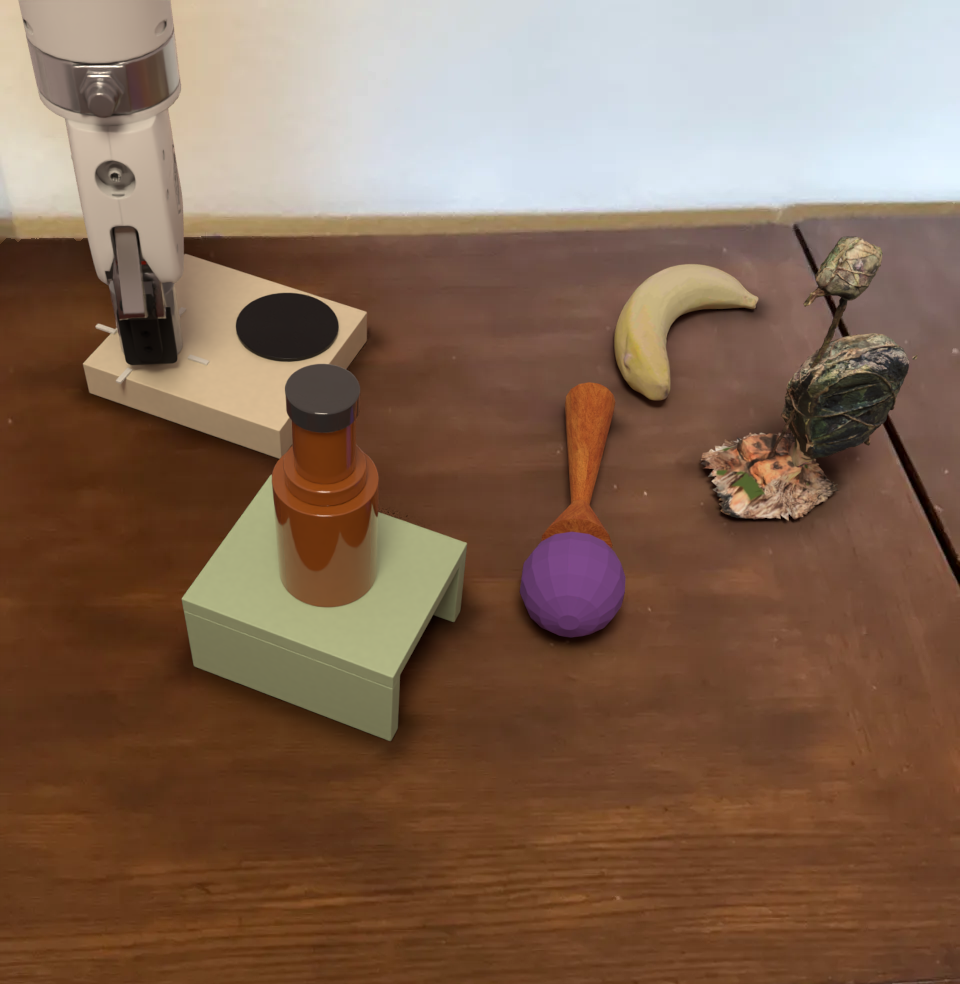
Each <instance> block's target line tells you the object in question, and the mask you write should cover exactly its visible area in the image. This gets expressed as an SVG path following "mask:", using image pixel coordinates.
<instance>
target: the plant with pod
mask: <svg viewBox="0 0 960 984" xmlns="http://www.w3.org/2000/svg"><path fill="white" fill-rule="evenodd" d="M882 261H883V250H882V249H881V246H877V245H875V244H874V243H870V242H868V241H867V240H865V239H864V238H862V237H860V236H856V235H853V236H852V235H851V236H850V235H845V236H842V237H840V238H839V239H838V241H837V242H836V243H835V245H834V247H833V248H832V249H831V251H830V252H829V253H828V254H827V256H826V258H825V259H824V260H823V261H822V263H821V264H820V266H819V268H818V271H817V272H816V273H815V274H814V276H815V277H814V280H815V283H816V285H817V287H816V289H814V291H811V292H810V293H809V296H807V298H806V299H805V301H804V302H803V306H804V307H808V306H810V305H811V304H813V303H814V302H815V300H816V299H817V298H820V297H829V296H831V297H839V300H838V305H837V307H836V308H835V312H834V314H833V318H832V320H831V323H830V326H829V327H828V330H827V333H826V334H825V337H824V338H823V343H822V345H821V347H819V348H818V349H816V350H815V351H814V352H813V353H812V354H810V355H809V356H807V359H805V360H804V362H802V364H801V365H800V366H799V367H798V369H797V370H796V371H795V372H794V373H793V376H792V377H791V378H790V379H789V381H788V382H787V384H786V393H785V395H784V405H783V406H782V412H781V415H780V417H781V418H782V420H783V422H784V423H785V424H784V426H783V428H782V429H781V432H778V434H777V433H770V432H769V433H764V432H759V433H758V434H757V433H755V432H754V433H752V432H749V434H748V435H746V436H743V437H742V438H740V437H736V440H731V439H724V441H723V444H722V445H721V446H720V445H714V449H715V450H714V449H713V448H710V449H709V450H708V451H707V452H702V454H701V459H699V462H700V463H699V464H701V465H702V466H704V467H702V468H701V469H703V470H704V469H709V470H710V469H712V471H711V472H710V473H709V475H708V476H707V477H708V478H710V477H714V478H713V479H712V480H711V483H712V484H714V485H715V486H716V487H714V488H712V491H714V492H715V493H716V497H719V499H718V501H721V502H719V503H717V504H718V505H719V506H720V507H721V509H720V510H719V511H720V512H722V513H723V514H725V515H728V516H730V517H731V518H736V519H739V518H740V519H753V520H758V519H765V518H767V519H775V518H776V519H780V520H781V517H782V518H784V519H785V520H786V521H788V522H789V521H790V520H789V517H792V519H793V520H794V521H795V520H797V519H800V518H804V515H808V514H809V513H808V512H812V510H813V509H814V508H815V507H816V506H817V505H819V504H821V503H822V502H823V503H824V502H826V500H828V497H832V495H834V494H836V492H838V491H840V489H838V487H836V486H838V485H839V483H836V484H835V481H832V480H831V479H828V476H827V475H826V474H825V473H824V470H823V469H822V468H821V467H820V466H819V465H820V463H818V462H817V459H822V458H827V457H831V456H833V455H835V454H837V453H840V452H843V451H845V450H847V449H850V448H856V447H859V446H860V445H861V444H864V445H866V446H870V445H871V435H872V434H874V432H875V431H876V430H877V429H879V428H881V426H882V425H884V424H885V422H886V421H887V418H888V415H889V413H890V411H894V410H895V405H896V402H897V398H898V395H899V393H900V391H901V388H902V386H903V385H904V383H905V382H904V381H905V378H906V376H907V375H908V373H909V368H910V359H909V357H908V354H907V353H906V350H904V349H905V348H903V347H901V345H899V344H898V343H896V342H895V340H894V339H893V338H891V337H890V336H887V335H886V334H883V333H876V332H873V333H872V332H870V333H866V334H854V335H853V334H851V335H847V336H842V337H839V338H836V339H834V340H833V338H834V336H835V333H836V329H837V328H838V326H839V325H840V321H841V318H842V317H844V313H845V311H846V309H847V306H848V301H853V300H857V298H859V297H860V296H861V295H862V294H863V293H864V292H866V290H867V289H868V288H869V286H870V285H871V283H872V281H873V279H875V277H876V275H877V273H878V272H879V270H880V268H881V266H882ZM917 359H918V354H916V355H914V356H912V360H913V361H916V360H917ZM788 429H789V430H790V432H789V433H787V431H788ZM789 515H790V516H789Z"/></svg>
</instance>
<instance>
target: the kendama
mask: <svg viewBox="0 0 960 984" xmlns="http://www.w3.org/2000/svg"><path fill="white" fill-rule="evenodd" d="M615 408H616V399H615V396H614V393H612V392H611V390H610V389H609V388H608V387H606V386H604V385H603V384H601V383H596V382H589V381H588V382H583V383H578V384H577V385H575V386H574V387H572V388H570V390H568V393H567V394H566V396H565V401H564V411H565V412H564V413H565V425H566V426H565V429H566V443H567V444H566V445H567V446H566V447H567V460H568V476H569V477H568V478H569V490H570V491H569V492H570V504H569V505H568V506H567V507H566V509H565V510H564V511H562V512H561V514H559V515H558V516H557V518H556V519H555V520H554V521H553V522H551V524H550V525H549V526H548V527H547V528H546V530H545V531H544V532H543V533H542V535H541V539H540V542H539V544H537V546H536V547H535V548H534V549H533V550H532V552H531V553H530V554H529V556H528V557H527V558H526V559H525V560H524V562H523V565H522V566H523V567H522V571H521V580H520V587H519V594H520V597H521V600H522V601H523V604H524V606H525V608H526V611H527V613H528V615H529V617H530V619H531V620H532V621H533V622H534V623H536V624H537V625H538V627H540V628H541V629H543V630H546V631H548V632H550V633H553V634H555V635H557V636H559V637H565V638H577V637H584V636H589V635H592V634H594V633H596V632H598V631H601V630H603V629H604V628H605V627H606V626H607V625H608V624H609V623H610V622H611V621H612V620H613V619H614V618H615V616H616V615H617V613H618V612H619V610H620V609H621V608H622V605H623V601H624V596H625V593H626V579H627V578H626V574H625V571H624V568H623V565H622V562H621V561H620V559H619V557H618V556H617V554H616V551H614V550H613V542H612V539H611V536H610V534H609V533H608V531H607V529H606V528H605V527H604V524H603V523H602V522H601V520H600V518H598V516H597V514H596V512H595V511H594V510H593V508H592V507H591V501H592V497H593V493H594V489H595V486H596V481H597V478H598V474H599V470H600V467H601V462H602V460H603V459H602V458H603V455H604V450H605V447H606V443H607V439H608V435H609V431H610V427H611V424H612V420H613V416H614V412H615Z"/></svg>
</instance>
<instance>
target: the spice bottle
mask: <svg viewBox="0 0 960 984" xmlns="http://www.w3.org/2000/svg"><path fill="white" fill-rule="evenodd" d="M285 402H286V412H287V414H288V416H289V418H290V419H291V429H292V445H291V447H290V448H289V449H288V451H287V452H286V453H285V454H284V455H283V456H282V457H281V458H280V459H279V458H278V460H277V461H276V464H275V465H274V467H273V470H272V474H271V475H272V491H273V503H274V516H275V528H276V541H277V553H278V566H279V575H280V579H281V582H282V584H283V586H284V587H285V589H286V590H287V591H288V592H289V593H290V594H291V595H292V596H293V597H295V598H296V599H298V600H300V601H301V602H304V603H306V604H309V605H312V606H317V607H339V606H343V605H347V604H350V603H352V602H354V601H356V600H358V599H359V598H361V597H362V596H364V595H365V594H366V593H367V592H368V591H369V590H370V588H371V587H372V586H373V584H374V582H375V579H376V576H377V560H378V512H379V499H380V498H379V496H380V495H379V494H380V493H379V491H380V489H379V488H380V487H379V486H380V476H379V471H378V468H377V466H376V464H375V463H374V461H373V459H372V458H371V457H370V456H369V455H368V454H366V452H365V451H363V450H362V449H361V448H360V447H359V445H357V418H358V417H359V415H360V413H361V385H360V383H359V381H358V379H357V378H356V376H355V375H354V374H353V373H352V372H351V371H349V370H347V369H344V368H342V367H339V366H336V365H331V364H313V365H309V366H305V367H303V368H301V369H299V370H297V371H295V372H294V373H293V374H292V375H291V376H290V377H289V378H288V380H287V382H286V385H285Z"/></svg>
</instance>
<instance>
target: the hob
mask: <svg viewBox="0 0 960 984" xmlns="http://www.w3.org/2000/svg"><path fill="white" fill-rule="evenodd" d="M175 287H176V294H177V301H178V308H179V315H180V322H181V329H182V336H183V347H182V349H181V351H180V353H179V354H178V355H177V361H176V362H175V363H172V364H153V365H130V364H128V363H127V362H126V360H125V355H124V354H123V352H122V351H121V347H120V342H119V337H118V332H117V327H115V328H113V327H110V326H107V325H105V324H101V323H96V325H95V326H94V327H95V329H97V330H99V331H102V332H105V333H108V334H109V335H108V336H107V337H106V338H105V339H104V340H103V341H102V342H101V343H100V345H99V346H97V348H96V349H95V350H94V351H93V352H92V353H91V354H90V355H89V356H88V357H87V358H86V360H85V361H84V362H83V363H82V367H83V371H84V375H85V380H86V384H87V388H88V393H89V394H91V395H94V396H97V397H101V398H102V399H105V400H109V401H111V402H114V403H117V404H120V405H123V406H125V407H129V408H131V409H135V410H137V411H140V412H143V413H146V414H149V415H151V416H155V417H158V418H160V419H163V420H167V421H168V422H172V423H175V424H177V425H181V426H183V427H187V428H190V429H192V430H195V431H198V432H200V433H204V434H207V435H209V436H213V437H216V438H218V439H220V440H221V439H222V440H224V441H227V442H230V443H232V444H236V445H239V446H242V447H244V448H247V449H249V450H253V451H255V452H259V453H262V454H264V455H268V456H270V457H273V458H276V459H278V460H279V459H280V458H281V457H282V456H283V455H284V454H285V453H286V452H287V451H288V450H289V448H290V447H291V446H292V429H291V419H290V418H289V416H288V414H287V412H286V402H285V385H286V382H287V380H288V378H289V377H290V376H291V375H292V374H293V373H294V372H295V371H297V370H299V369H301V368H303V367H305V366H309V365H313V364H331V365H336V366H339V367H342V368H344V369H346V370H347V369H348V368H349V366H350V365H351V363H352V362H353V360H354V359H355V358H356V356H357V355H358V354H359V352H360V351H361V350H362V349H363V347H364V345H365V344H366V343H367V341H368V312H367V311H366V310H363V309H359V308H357V307H353V306H349V305H346V304H344V303H340V302H337V301H335V300H331V299H328V298H326V297H321V296H319V295H316V294H313V293H309V292H306V291H304V290H301V289H297V288H294V287H290V286H287V285H285V284H281V283H278V282H275V281H271V280H268V279H266V278H263V277H259V276H256V275H253V274H250V273H247V272H243V271H241V270H238V269H234V268H232V267H229V266H225V265H222V264H219V263H216V262H212V261H209V260H206V259H203V258H200V257H197V256H193V255H191V254H188V253H184V270H183V275H182V277H181V278H180V280H179V281H178V282H176V283H175ZM276 293H298V294H304V295H308V296H311V297H314V298H316V299H318V300H320V301H322V302H324V303H325V304H327V305H328V306H329V307H330V308H331V309H332V310H333V311H334V313H335V314H336V316H337V319H338V323H339V332H338V336H337V338H336V340H335V342H334V343H333V345H332V346H331V347H330V348H329V349H327V350H326V351H325V352H323V353H322V354H320V355H318V356H315V357H313V358H310V359H306V360H302V361H294V362H281V361H273V360H269V359H265V358H262V357H260V356H257V355H255V354H253V353H252V352H250V351H249V350H247V349H246V348H245V347H244V346H243V345H242V343H241V342H240V341H239V339H238V336H237V333H236V320H237V317H238V315H239V313H240V312H241V310H242V309H243V308H244V307H245V306H246V305H248V304H249V303H251V302H252V301H254V300H256V299H258V298H260V297H263V296H266V295H270V294H276Z"/></svg>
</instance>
